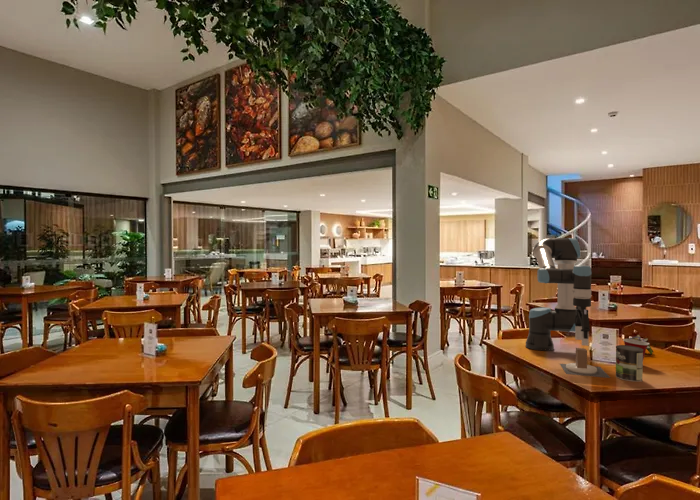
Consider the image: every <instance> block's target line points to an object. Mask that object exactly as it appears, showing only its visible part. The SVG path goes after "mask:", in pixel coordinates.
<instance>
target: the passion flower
mask: <svg viewBox="0 0 700 500" xmlns="http://www.w3.org/2000/svg"><path fill="white" fill-rule="evenodd" d="M627 339H632V340H638V341H643V342H646V343H648V344H649V345H648V346H647V348H646V350H647V352H648V353H649V354H650V355H653V353H654V350H653V349H652V347H651V345H650V342H647V341H648V339H649V338H641V336H640V335H639V334H637V335H636V336H632V337H631V336H630V337H628V338H627Z"/></svg>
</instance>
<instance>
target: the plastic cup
mask: <svg viewBox="0 0 700 500" xmlns="http://www.w3.org/2000/svg"><path fill="white" fill-rule="evenodd" d="M622 341H623V345H628V346H635V347H639V348H642V349H643V360H645V355H646V350H647V349H646V348H647V346H648V345H650V344H648V343H649V342H648V343H646V342H647V341H646V342H643V341H638V340H632V339H630V338H629V339H628V338H623V339H622Z"/></svg>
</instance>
